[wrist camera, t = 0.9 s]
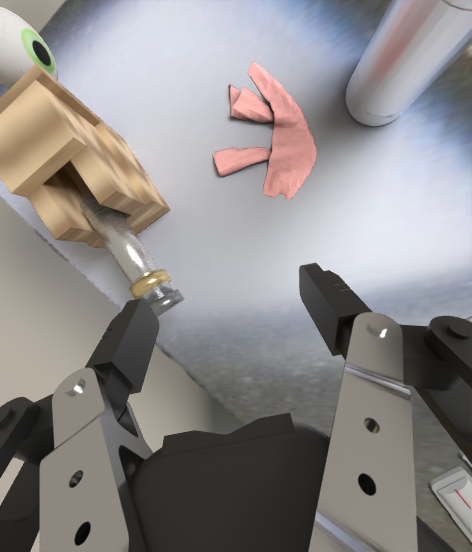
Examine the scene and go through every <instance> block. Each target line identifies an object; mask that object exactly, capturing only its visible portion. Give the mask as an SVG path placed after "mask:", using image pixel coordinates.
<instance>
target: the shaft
mask: <svg viewBox="0 0 472 552" xmlns="http://www.w3.org/2000/svg"><path fill="white" fill-rule="evenodd" d="M80 208H81V210H82V211H83V213H84V214H85V215H86V217H87V218H88V220H89V221H90V223H91V224H92V226H93V227H94V229H95V230H96V232H97V233H98V235H99V236H100V238H101V239H102V241H103V242H104V244H105V245H106V247H107V248H108V250H109V251H110V253H111V254H112V256H113V257H114V259H115V260H116V262H117V263H118V265H119V266H120V268H121V269H122V271H123V272H124V274H125V275H126V277H127V278H128V280H129V281H130V283H131V284H132V286H131V287H130V288H129V290H130V292H131V293H132V295H133V296H134V298H135V299H140V298H145V299H146V300H147V301H148V303H149V305H150V306H151V308H152V310H153V312H154V313H155V315H156V317H158V316H159V315H161V314H162V313H164V312H166V311H167V310H169V309H170V308H172V307H173V306H175V305H176V304H178V303H179V302H181V301H182V300H184V298H183V296H182V295H181V293H180V292H179V290H178V289H177V290H175V291H173V289H172V288H171V286H170V285H169V282H170V281H171V278H170V277H169V275H168V274H167V272H166V270H165V269H162V270H159V268H158V267H157V265H156V264H155V262H154V261H153V259H152V258H151V256H150V255H149V253H148V252H147V250H146V248H145V247H144V245H143V244H142V242H141V241H140V239H139V238H138V236H137V235H136V233H135V232H134V230H133V229H132V227H131V226H130V224H129V223H128V221H127V220H126V218H125V217H124V215H123V214H122V212H121V211H118V210H115V209H112V208H109V207H106V206H103V205H100V204H99V202H98V201H97V199H96V198H95V196H94V195H93V194H92V195H89V196H87V197H85V198H84V199H83V200H82V201H81V203H80Z"/></svg>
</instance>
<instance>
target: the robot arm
mask: <svg viewBox="0 0 472 552" xmlns="http://www.w3.org/2000/svg"><path fill="white" fill-rule="evenodd" d="M471 45H472V0H391V2H390V4H389V6H388V8H387V9H386V11H385V13H384V15H383V17H382V19H381V21H380V23H379V25H378V27H377V29H376V31H375V32H374V34H373V36H372V38H371V40H370V42H369V44H368V46H367V48H366V50H365V51H364V53H363V55H362V57H361V59H360V61H359V63H358V65H357V67H356V69H355V71H354V72H353V74H352V76H351V78H350V80H349V83H348V85H347V89H346V96H345V100H346V106H347V108H348V111H349V113H350V114H351V115H352V117H353V118H354V119H355V120H357V121H358V122H360V123H362V124H364V125H368V126H381V125H385V124H387V123H390V122H392V121H393V120H395V119H397V118H398V117H399V116H400V115H401V114H402V113H403V112H404V111H405V110H406V109H407V108H408V107H409V106H410V105H411V104H412V103H413V102H414V101H415V100H416V99H417V98H418V97H419V96H420V95H421V94H422V93H423V92H424V91H425V90H426V89H428V88H429V87H430V86H431V85H432V84H433V83H434V82H435V81H436V80H437V79H438V78H439V77H440V76H441V75H442V74H443V73H444V72H445V71H446V70H447V69H448V68H449V67H450V66H451V65H452V64H453V63H454V62H455V61H456V60H457V59H458V58H459V57H460V56H461V55H462V54H463V53H464V52H465V51H466V50H467V49H468V48H469V47H470V46H471ZM299 288H300V296H301V299H302V301H303V303H304V305H305V307H306V309H307V310H308V312H309V314H310V316H311V318H312V319H313V321H314V323H315V325H316V327H317V328H318V330H319V332H320V334H321V336H322V337H323V339H324V341H325V343H326V345H327V346H328V348H329V350H330V352H331V354H332V355H333V356H336V355H341V354H342V356H343V358H344V359H345V365H344V370H343V375H342V380H341V385H340V390H339V395H338V400H337V405H336V409H335V414H334V419H333V424H332V429H331V434H330V437H329V436H327V435H326V434H324V433H323V432H321V431H319V430H317V429H315V428H313V427H311V426H308V425H305V424H302V423H297V422H292V418H291V415H290V413H286V414H281V415H275V416H270V417H264V418H259V419H257V420H255V421H253V422H251V423H249V424H247V425H245V426H243V427H242V428H240V429H238V430H236V431H234V432H232V433H230V434H227V435H222V434H215V433H209V432H202V431H195V430H194V431H189V432H183V433H178V434H173V435H168V436H164V440H163V446H162V448H160V449H159V450H157V451H156V452H154V453H153V452H152V450H151V449H150V448H149V446H148V445H147V444H146V442H145V440H144V438H143V435H142V433H141V430H140V428H139V425H138V423H137V421H136V418H135V416H134V413H133V411H132V408H131V406H130V404H129V402H127V400H128V397H129V394H133V393H139V392H141V389H142V385H143V382H144V378H145V375H146V372H147V368H148V364H149V361H150V358H151V355H152V351H153V348H154V344H155V341H156V338H157V334H158V331H159V321H158V318H157V317H156V315H155V313H154V312H153V310H152V308H151V306H150V305H149V303H148V301H147V300H146V299H145V298H140V299H136V300H131V301H128V302H127V303H126V305H125V307H124V308H123V310H122V312H121V313H119V314H118V315H117V316H116V317H115V318H114V319H113V320H112V321H111V323H110V324H109V326H108V328H107V330H106V332H105V333H104V335H103V337H102V339H101V340H100V342H99V344H98V345H97V347H96V349H95V351H94V352H93V354H92V356H91V358H90V360H89V361H88V363H87V365H86V366H85V368H83V369H80V370H78V371H76V372H74V373H72V374H71V375H70V376H68V377H67V378H66V379H65V380H64V381H63V382H62V383H61V384H60V385H59V387H58V388H57V389H56V391H55V392H54V394H51V395H49V396H47V397H45V398H43V399H41V400H39V401H37V402H35V403H34V402H32V401H30V400H29V399H27V398H25V397H19V398H16V399H13V400H11V401H9V402H7V403H6V404H4V405H2V406H1V407H0V478H1V476H2V475H3V473H4V471H5V469H6V468H7V466H8V464H9V463H10V461H11V460H12V458H13V457H14V458H17V459H20V460H22V461H25V462H24V464H23V466H22V468H21V470H20V471H19V473H18V475H17V477H16V478H15V480H14V482H13V484H12V486H11V487H10V489H9V491H8V493H7V495H6V497H5V498H4V500H3V502H2V504H1V506H0V552H30V551H31V548H32V546H33V544H34V541H35V539H36V537H37V534H38V532H39V529H40V552H456V551H455V550H454V549H453V548H452V547H451V546H450V545H449V544H447V543H446V542H445V541H444V540H443V539H442V538H441V537H440V536H439V535H438V534H436V533H435V532H434V531H433V530H432V529H431V528H430V527H429V526H428V525H427V524H425V523H424V522H423V521H422V520H421V519H420V518H419V517H418V516H417V515H416V499H415V476H414V453H413V429H412V406H411V395H410V391H409V389H408V388H406V387H404V384H405V385H412V386H413V387H414V388H415V389H416V391H417V392H418V393H419V395H420V396H421V397H422V399H423V400H424V401H425V403H426V404H427V405H428V407H429V408H430V409H431V411H432V412H433V413H434V415H435V416H436V417H437V419H438V420H439V421H440V423H441V424H442V425H443V427H444V428H445V429H446V431H447V432H448V433H449V435H450V436H451V438H452V439H453V440H454V442H455V443H456V444H457V446H458V447H459V448H460V450H461V451H462V452H463V454H464V455H465V456H466V458H467V459H468V460H469V462H470V463H471V464H472V322H470V321H468V320H465V319H462V318H458V317H453V316H439V317H436V318H434V319H432V320H431V322H430V324H429V325H428V326H412V325H400V324H398V323H397V322H395V321H394V320H393V319H391V318H390V317H388V316H385V315H383V314H379V313H374V312H372V311H371V310H370V309H369V308H368V307H367V306H366V304H365V303H364V302H363V301H362V300H361V299H360V298H359V297H358V296H357V295H356V294H355V293H354V292H353V290H351V289H350V287H349V286H348V285H347V284H345V282H344V281H343V280H342V279H341V278H340V277H339V275H337V274H335V273H333V272H331V271H329V270H328V271H323V270H322V269H321V268H320V266H319V265H318V264H317V263H312V264H307V265H302V266H300V268H299Z"/></svg>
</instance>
